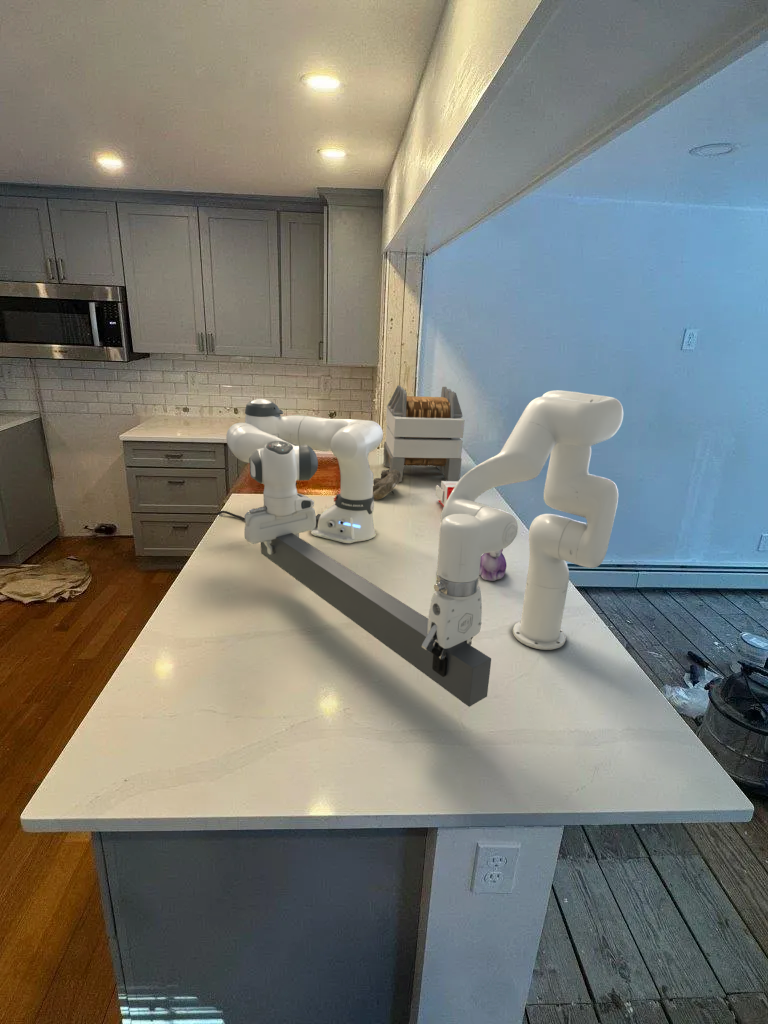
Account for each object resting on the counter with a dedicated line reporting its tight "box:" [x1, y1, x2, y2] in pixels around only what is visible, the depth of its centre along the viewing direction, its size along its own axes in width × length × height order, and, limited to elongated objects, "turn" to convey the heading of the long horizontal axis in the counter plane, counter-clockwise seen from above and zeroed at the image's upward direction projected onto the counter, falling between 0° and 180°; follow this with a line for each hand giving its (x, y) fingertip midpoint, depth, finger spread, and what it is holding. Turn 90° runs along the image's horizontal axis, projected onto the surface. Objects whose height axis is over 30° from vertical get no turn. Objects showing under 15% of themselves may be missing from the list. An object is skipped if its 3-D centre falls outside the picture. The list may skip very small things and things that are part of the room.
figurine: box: [479, 549, 507, 582], centre depth 169 cm, size 9×10×15 cm
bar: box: [260, 533, 492, 708], centre depth 131 cm, size 80×5×8 cm, turn 39°
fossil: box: [373, 469, 401, 501], centre depth 241 cm, size 22×10×15 cm
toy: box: [435, 480, 458, 508], centre depth 223 cm, size 12×13×30 cm
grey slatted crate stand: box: [383, 384, 465, 483], centre depth 268 cm, size 34×33×41 cm
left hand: (281, 550), depth 155 cm, fingers closed on bar, 5 cm apart
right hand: (449, 666), depth 108 cm, fingers closed on bar, 4 cm apart
